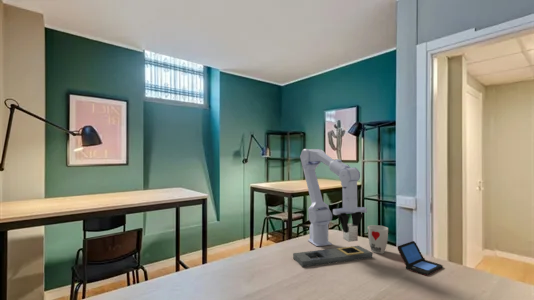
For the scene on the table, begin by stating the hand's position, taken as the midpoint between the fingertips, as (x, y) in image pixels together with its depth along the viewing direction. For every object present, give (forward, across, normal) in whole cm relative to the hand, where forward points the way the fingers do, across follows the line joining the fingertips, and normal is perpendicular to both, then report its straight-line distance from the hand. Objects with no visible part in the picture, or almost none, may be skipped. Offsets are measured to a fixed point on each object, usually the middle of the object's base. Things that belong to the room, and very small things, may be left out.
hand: (350, 231), depth 113 cm
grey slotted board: (+10, -8, 0) cm, 13 cm away
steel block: (+3, 0, 0) cm, 3 cm away
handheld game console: (+10, +18, -17) cm, 27 cm away
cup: (+10, +14, +1) cm, 17 cm away
